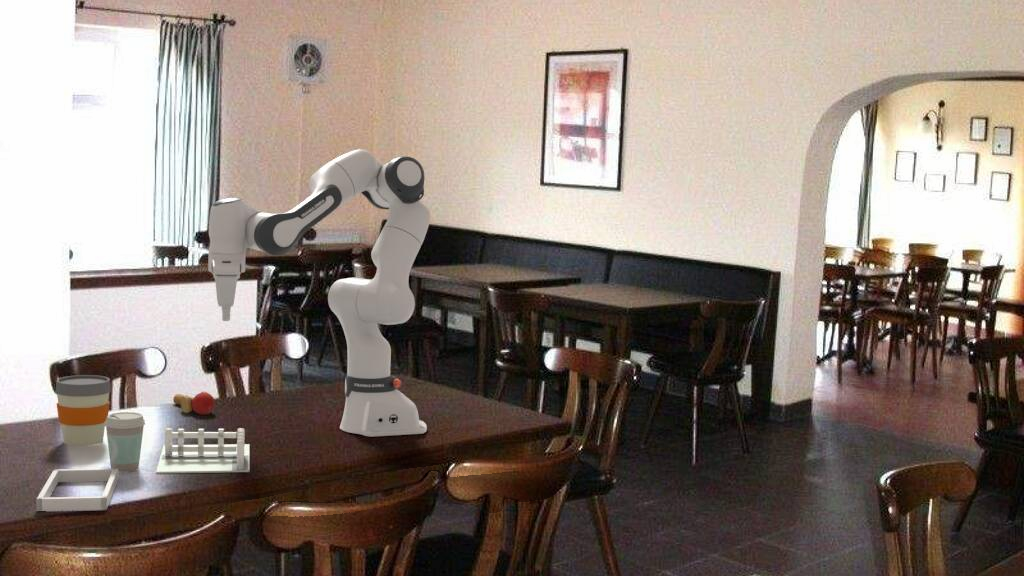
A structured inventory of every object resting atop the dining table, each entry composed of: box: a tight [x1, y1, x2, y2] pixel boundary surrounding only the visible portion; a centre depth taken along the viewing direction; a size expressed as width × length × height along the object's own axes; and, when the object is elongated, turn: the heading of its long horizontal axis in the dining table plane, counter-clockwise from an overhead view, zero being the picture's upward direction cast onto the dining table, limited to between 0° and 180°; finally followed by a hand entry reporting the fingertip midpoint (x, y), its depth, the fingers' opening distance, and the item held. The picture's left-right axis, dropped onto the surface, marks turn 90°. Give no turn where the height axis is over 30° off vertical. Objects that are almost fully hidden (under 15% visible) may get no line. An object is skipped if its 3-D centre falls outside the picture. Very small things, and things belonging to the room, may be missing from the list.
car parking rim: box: [35, 468, 119, 512], centre depth 249 cm, size 13×22×2 cm, turn 12°
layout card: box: [155, 443, 250, 475], centre depth 281 cm, size 20×24×1 cm
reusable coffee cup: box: [55, 374, 112, 447], centre depth 292 cm, size 13×13×15 cm
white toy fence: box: [164, 427, 246, 456], centre depth 281 cm, size 18×2×6 cm, turn 99°
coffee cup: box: [105, 411, 146, 473], centre depth 269 cm, size 8×8×12 cm
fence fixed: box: [236, 429, 246, 470], centre depth 276 cm, size 11×2×6 cm, turn 12°
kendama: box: [172, 390, 216, 416], centre depth 331 cm, size 8×6×18 cm
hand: (226, 320), depth 300 cm, fingers closed
